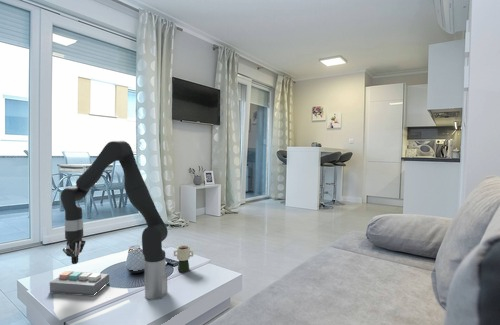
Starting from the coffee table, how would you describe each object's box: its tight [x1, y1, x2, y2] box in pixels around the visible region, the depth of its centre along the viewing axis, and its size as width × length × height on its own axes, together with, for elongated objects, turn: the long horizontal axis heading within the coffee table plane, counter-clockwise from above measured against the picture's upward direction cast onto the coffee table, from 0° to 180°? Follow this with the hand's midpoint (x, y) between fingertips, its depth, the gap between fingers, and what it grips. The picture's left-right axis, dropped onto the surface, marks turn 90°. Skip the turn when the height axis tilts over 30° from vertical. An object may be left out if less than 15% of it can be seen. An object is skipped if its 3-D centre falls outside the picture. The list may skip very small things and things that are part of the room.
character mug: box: [173, 245, 194, 273], centre depth 162 cm, size 11×7×13 cm, turn 90°
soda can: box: [127, 245, 142, 254], centre depth 164 cm, size 7×7×12 cm
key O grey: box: [79, 272, 92, 281], centre depth 141 cm, size 4×4×4 cm
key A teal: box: [69, 271, 83, 280], centre depth 141 cm, size 4×4×4 cm
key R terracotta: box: [58, 271, 73, 280], centre depth 142 cm, size 4×4×4 cm
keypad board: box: [49, 271, 110, 296], centre depth 141 cm, size 22×12×5 cm, turn 83°
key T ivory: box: [88, 272, 101, 282], centre depth 140 cm, size 4×4×4 cm
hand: (75, 263), depth 141 cm, fingers closed
